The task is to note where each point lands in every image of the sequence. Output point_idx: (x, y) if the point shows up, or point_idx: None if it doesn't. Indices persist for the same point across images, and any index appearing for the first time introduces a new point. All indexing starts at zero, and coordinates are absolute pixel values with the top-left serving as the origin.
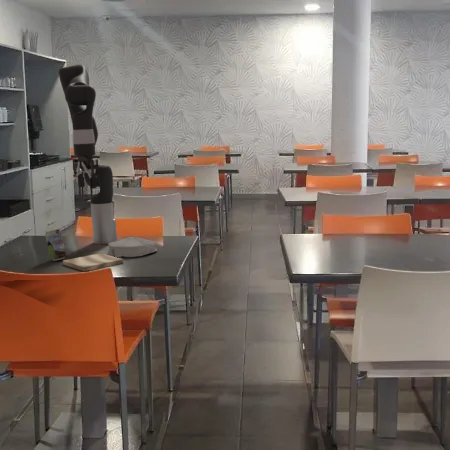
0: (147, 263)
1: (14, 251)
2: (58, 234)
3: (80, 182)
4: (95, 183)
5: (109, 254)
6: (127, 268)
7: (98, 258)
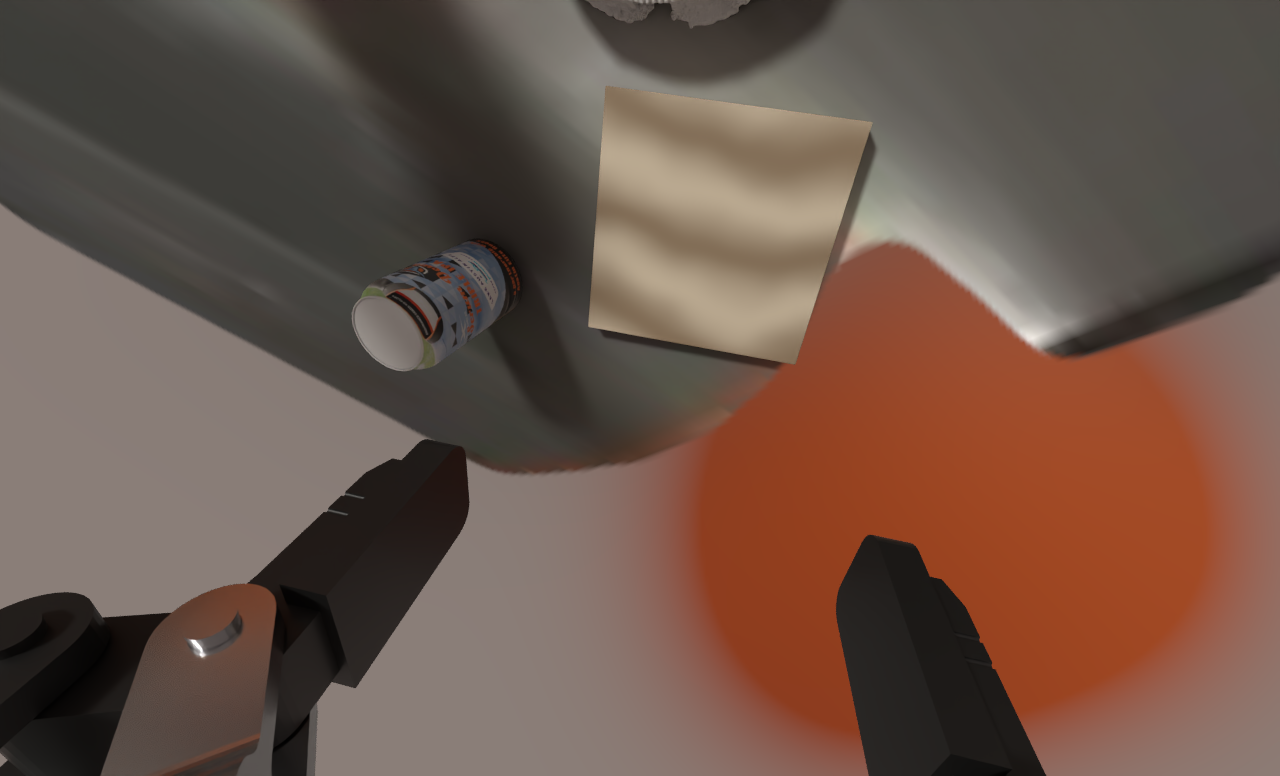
0: (1040, 18)
1: (177, 270)
2: (448, 324)
3: (421, 559)
4: (978, 656)
5: (604, 4)
6: (978, 199)
7: (711, 198)
